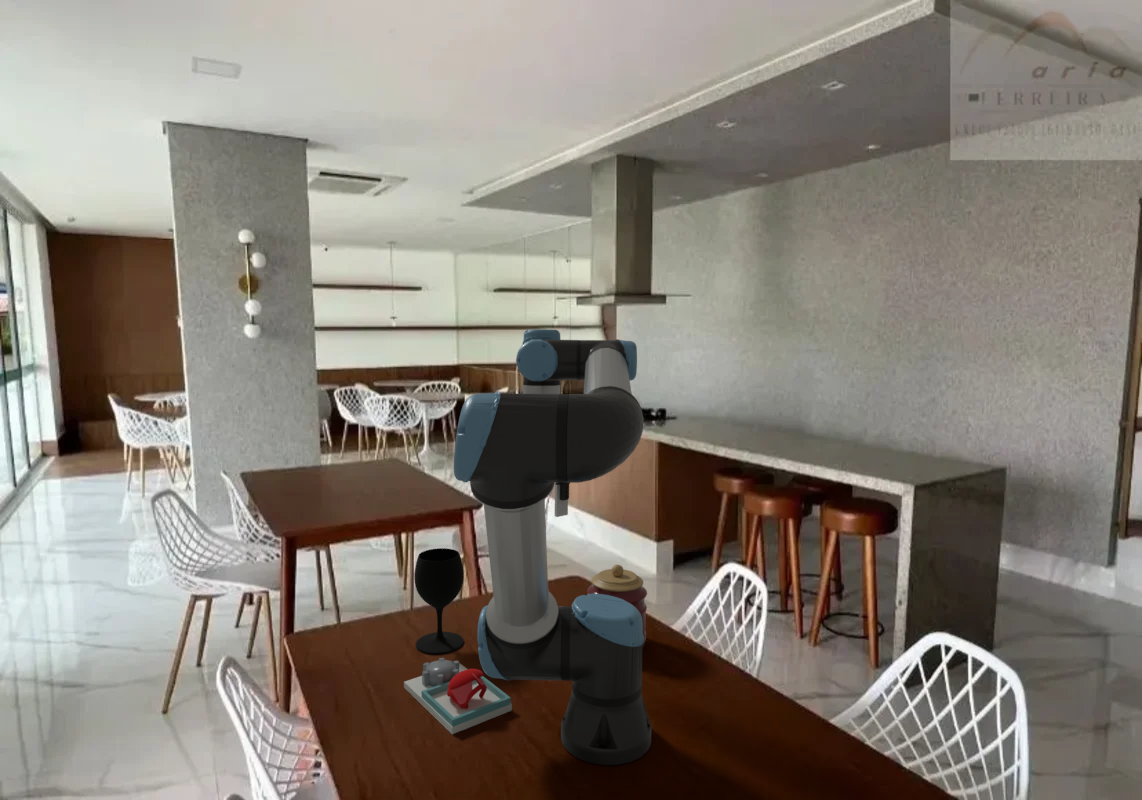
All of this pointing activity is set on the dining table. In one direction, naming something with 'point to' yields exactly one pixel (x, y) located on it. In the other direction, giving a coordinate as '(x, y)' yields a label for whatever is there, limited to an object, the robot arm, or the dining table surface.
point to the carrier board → (443, 708)
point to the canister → (622, 589)
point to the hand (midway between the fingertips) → (541, 508)
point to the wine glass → (439, 595)
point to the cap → (465, 687)
